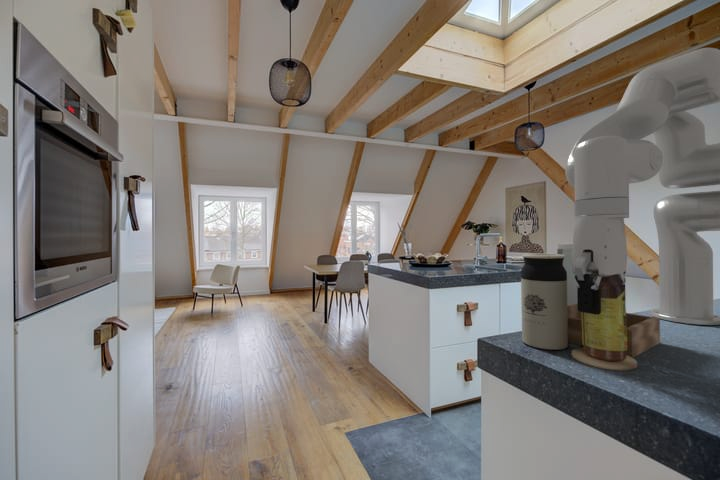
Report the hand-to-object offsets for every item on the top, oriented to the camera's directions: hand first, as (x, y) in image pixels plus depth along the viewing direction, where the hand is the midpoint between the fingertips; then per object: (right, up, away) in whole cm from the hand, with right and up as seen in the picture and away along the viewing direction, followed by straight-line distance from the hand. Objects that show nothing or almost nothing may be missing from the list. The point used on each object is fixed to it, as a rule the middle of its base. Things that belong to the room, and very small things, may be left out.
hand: (602, 308), depth 55 cm
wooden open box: (+8, -9, +9) cm, 15 cm away
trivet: (0, -9, 0) cm, 9 cm away
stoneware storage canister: (-5, -9, +9) cm, 14 cm away
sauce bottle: (0, -9, 0) cm, 9 cm away
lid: (+5, -9, +14) cm, 17 cm away
